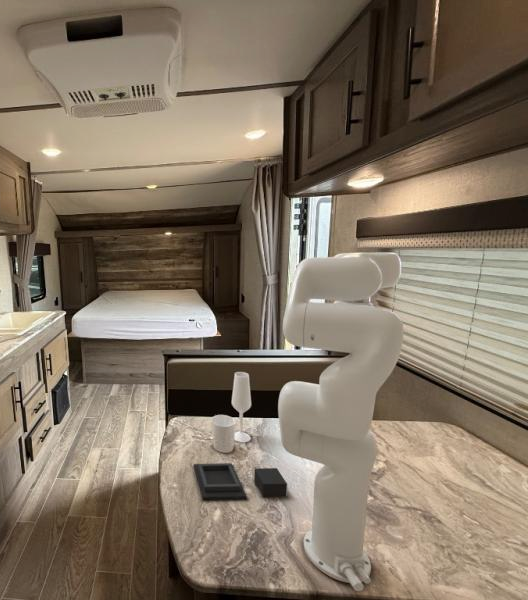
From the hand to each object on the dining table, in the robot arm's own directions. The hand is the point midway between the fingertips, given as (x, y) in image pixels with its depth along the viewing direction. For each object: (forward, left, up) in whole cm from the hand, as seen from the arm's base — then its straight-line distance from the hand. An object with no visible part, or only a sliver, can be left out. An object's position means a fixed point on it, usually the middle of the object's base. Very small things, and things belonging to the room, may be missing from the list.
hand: (349, 356), depth 93 cm
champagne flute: (+20, +24, -37) cm, 48 cm away
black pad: (-6, +24, -37) cm, 44 cm away
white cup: (+14, +32, -37) cm, 51 cm away
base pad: (-3, +38, -37) cm, 53 cm away
